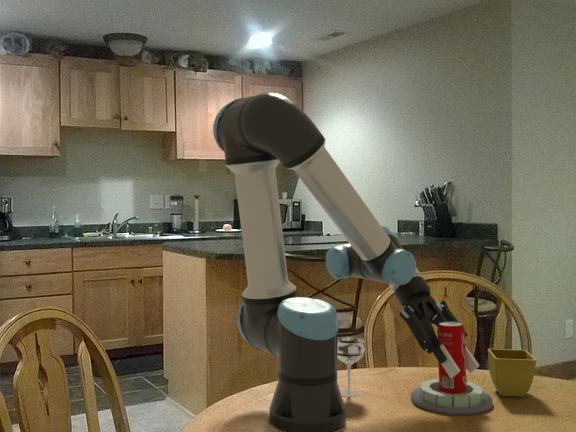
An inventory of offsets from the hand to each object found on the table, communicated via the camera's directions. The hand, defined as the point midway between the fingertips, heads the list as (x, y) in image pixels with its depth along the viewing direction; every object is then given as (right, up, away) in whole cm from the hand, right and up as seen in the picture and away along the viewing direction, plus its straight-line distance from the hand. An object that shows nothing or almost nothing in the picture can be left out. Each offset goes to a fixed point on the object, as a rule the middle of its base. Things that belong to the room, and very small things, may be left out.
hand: (465, 371), depth 140 cm
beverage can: (-2, -5, +3) cm, 7 cm away
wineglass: (-24, -7, +9) cm, 26 cm away
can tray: (-2, -7, +3) cm, 8 cm away
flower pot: (+12, -7, +9) cm, 17 cm away
